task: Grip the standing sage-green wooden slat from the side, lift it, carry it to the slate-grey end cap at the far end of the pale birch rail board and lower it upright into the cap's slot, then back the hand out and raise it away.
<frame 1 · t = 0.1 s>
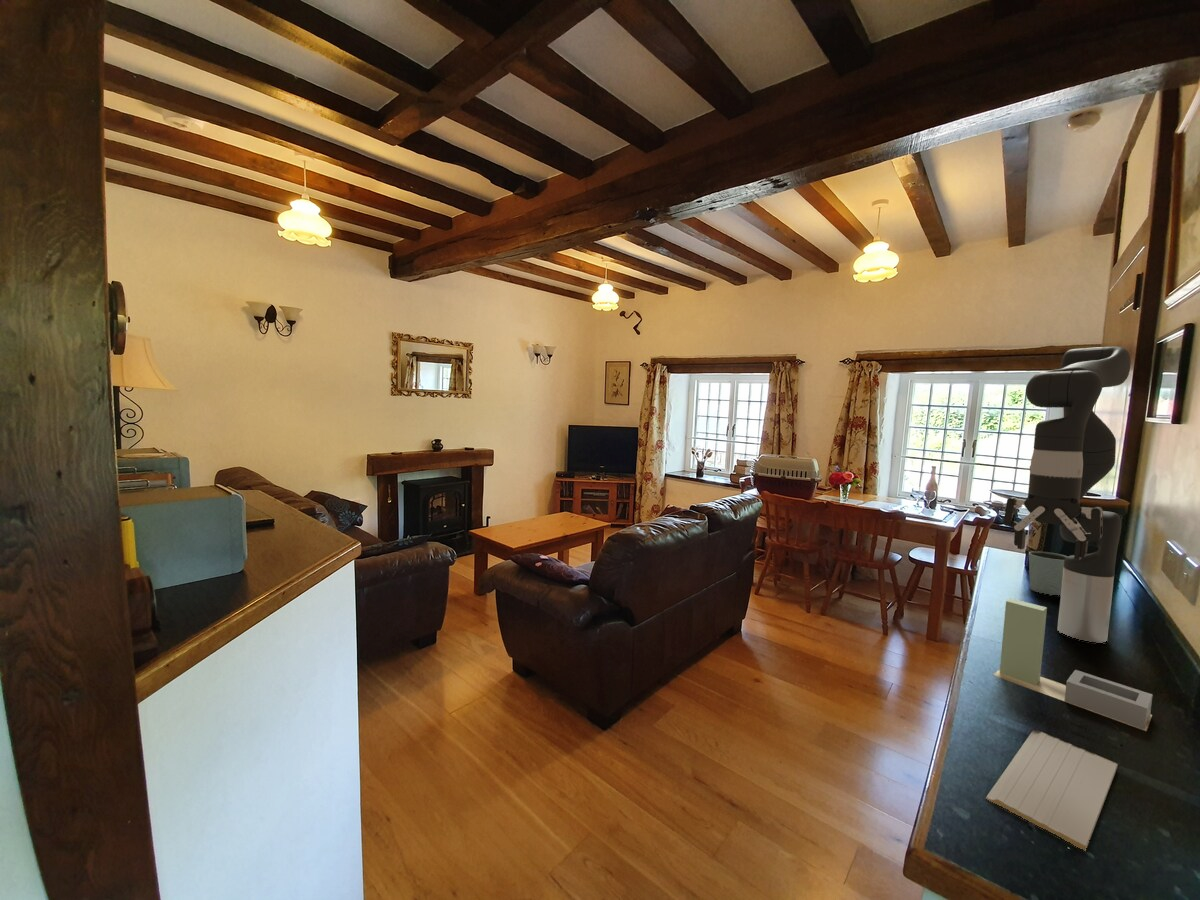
hand: (1048, 553, 97), 29 cm above the kitchen counter, tool pointing down, fingers open, 8 cm apart
rail board: (1066, 698, 97), on the kitchen counter
grey-green pot: (1045, 591, 158), on the kitchen counter
slat: (1019, 676, 103), point 1 cm above the kitchen counter, touching rail board
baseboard: (1051, 777, 77), on the kitchen counter
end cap: (1106, 707, 93), resting on rail board
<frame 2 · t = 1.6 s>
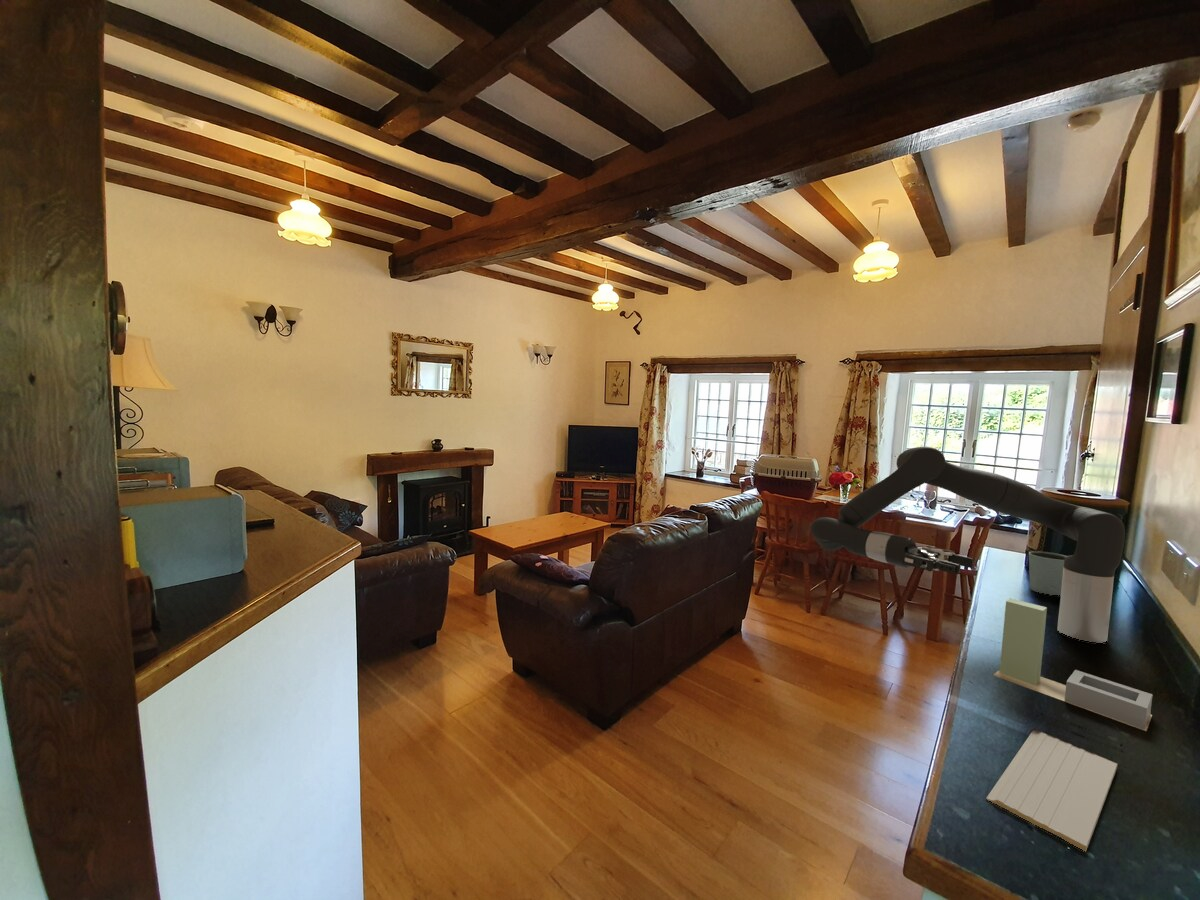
hand: (966, 566, 110), 22 cm above the kitchen counter, tool horizontal, fingers open, 8 cm apart
nothing on the kitchen counter moved.
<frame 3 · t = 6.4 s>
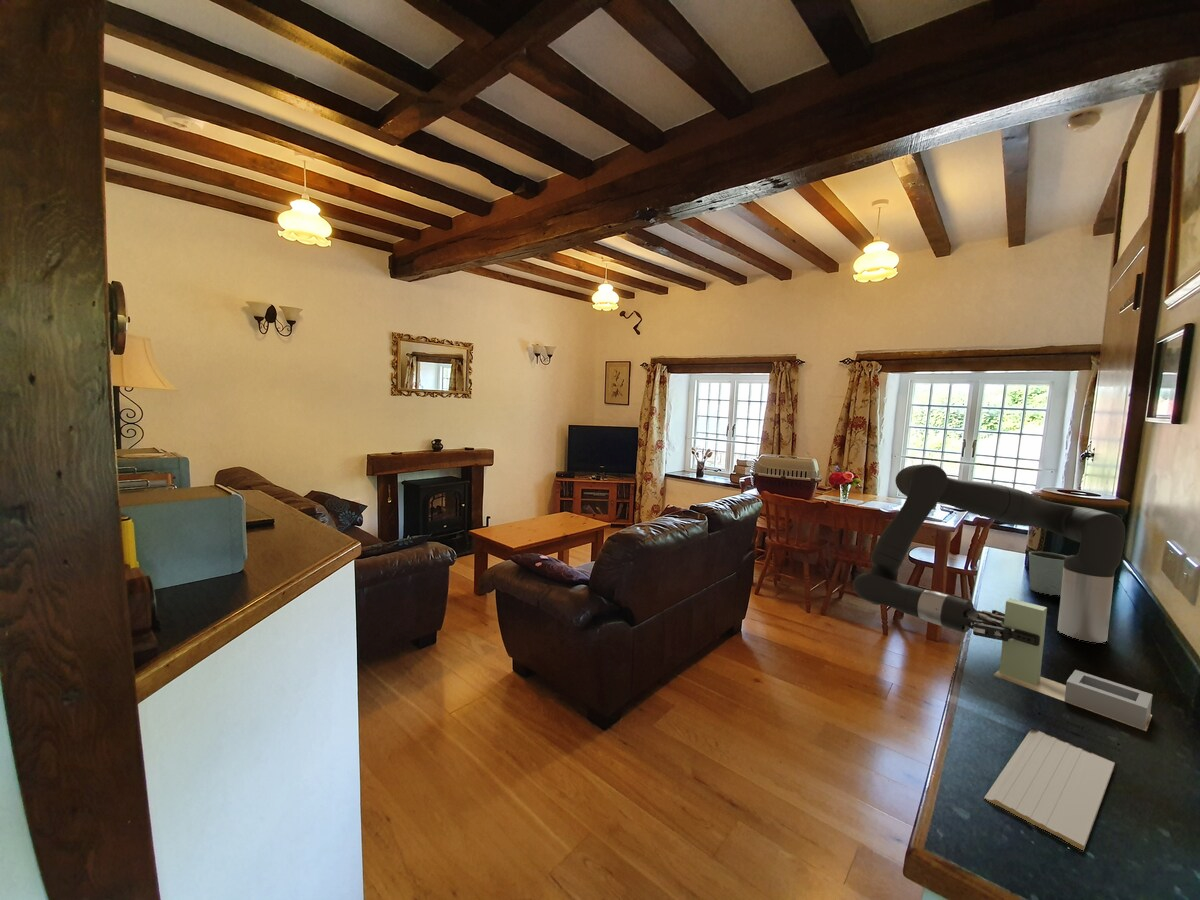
hand: (1041, 638, 100), 11 cm above the kitchen counter, tool horizontal, fingers closed on slat, 3 cm apart
slat: (1019, 676, 103), point 1 cm above the kitchen counter, touching gripper, rail board
everything else where it was.
when the fingers open (12 cm above the kitchen counter, at t = 11.8 s): slat drops 1 cm, resting on rail board.
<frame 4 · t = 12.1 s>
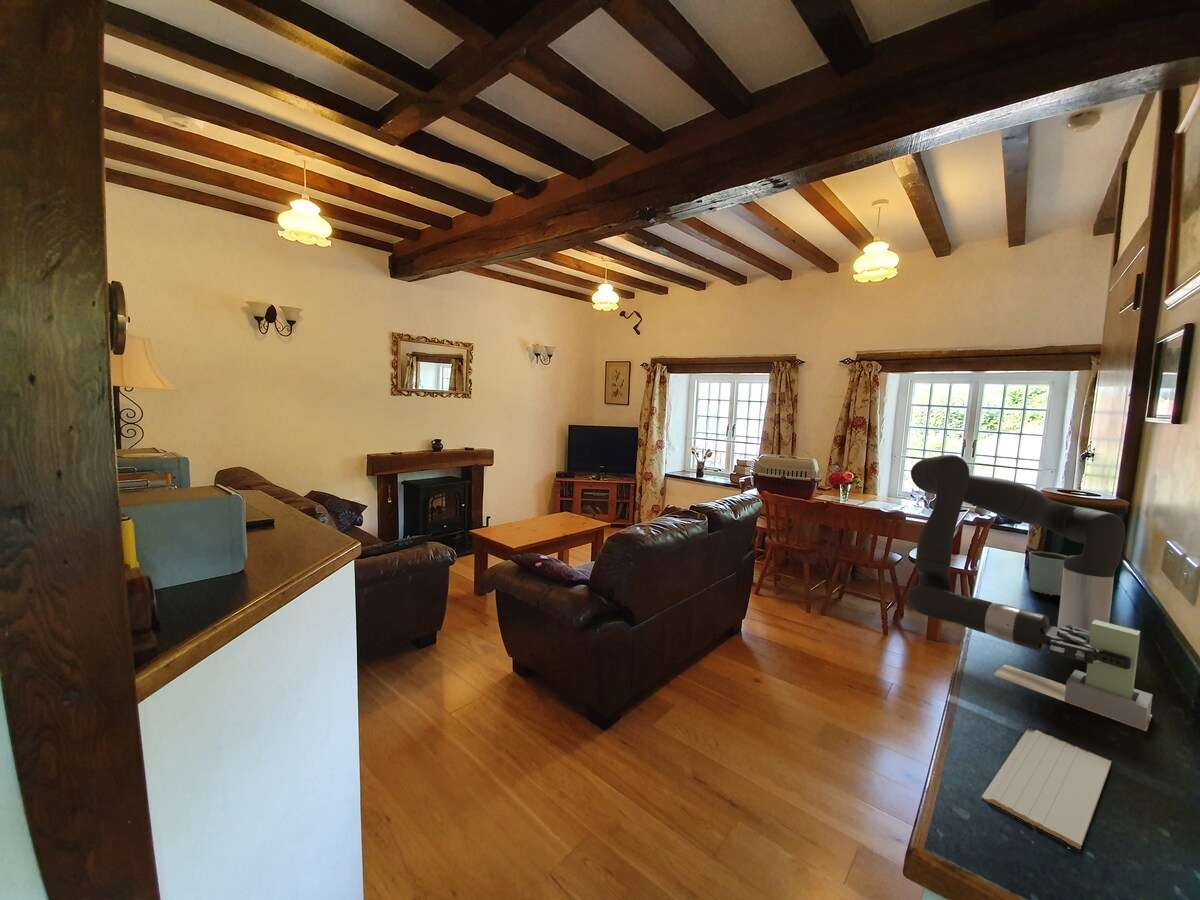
hand: (1132, 659, 90), 12 cm above the kitchen counter, tool horizontal, fingers open, 5 cm apart
slat: (1106, 707, 93), point 1 cm above the kitchen counter, touching rail board
everything else where it was.
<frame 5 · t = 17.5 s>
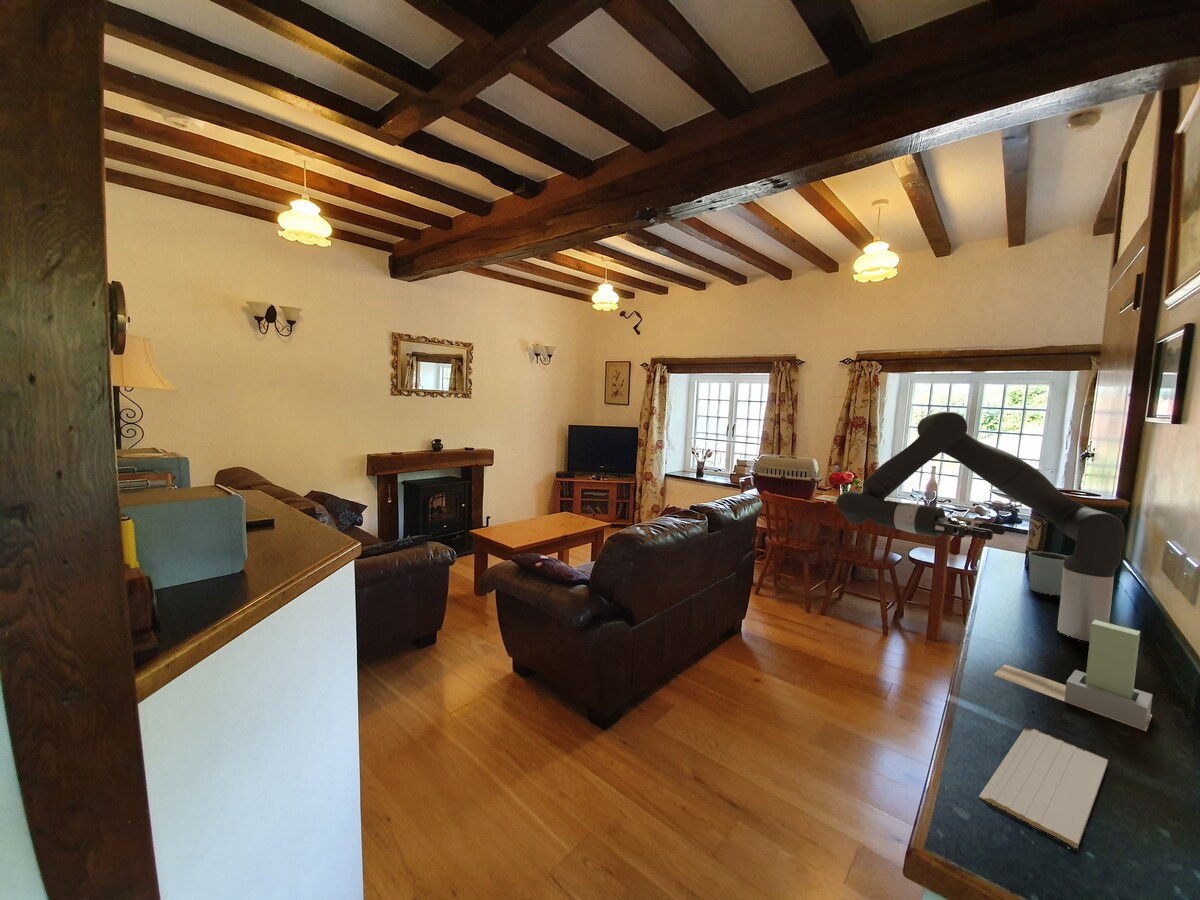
hand: (998, 532, 110), 30 cm above the kitchen counter, tool horizontal, fingers open, 8 cm apart
at the end: slat 0.0 cm off-centre on the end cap, point 0.0 cm above the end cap's base; slat tilted 0°; the gripper is holding nothing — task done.
